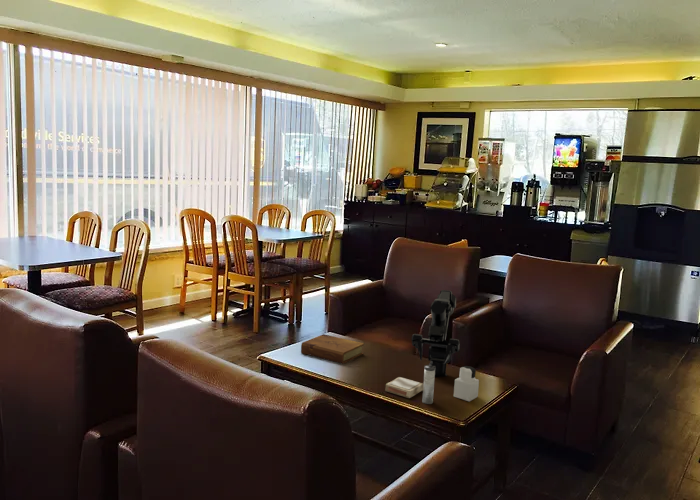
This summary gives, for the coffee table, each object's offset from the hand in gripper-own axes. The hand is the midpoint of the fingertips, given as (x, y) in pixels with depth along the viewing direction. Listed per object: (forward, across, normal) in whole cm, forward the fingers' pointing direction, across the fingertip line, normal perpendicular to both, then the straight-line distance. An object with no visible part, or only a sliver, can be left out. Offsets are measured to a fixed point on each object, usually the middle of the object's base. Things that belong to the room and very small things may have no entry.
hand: (432, 361), depth 225 cm
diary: (-13, -50, +33) cm, 62 cm away
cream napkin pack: (+9, -10, +10) cm, 17 cm away
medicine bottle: (+7, +14, +12) cm, 20 cm away
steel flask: (+15, 0, +4) cm, 15 cm away
